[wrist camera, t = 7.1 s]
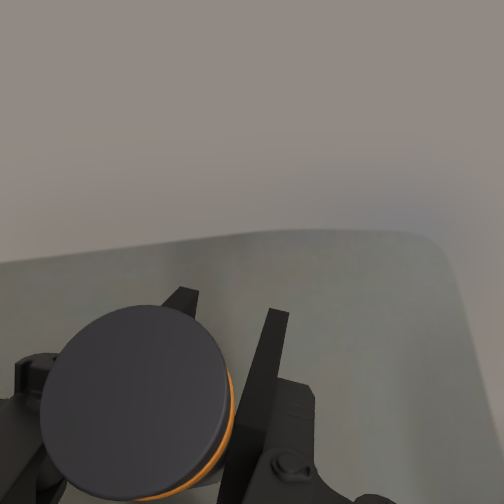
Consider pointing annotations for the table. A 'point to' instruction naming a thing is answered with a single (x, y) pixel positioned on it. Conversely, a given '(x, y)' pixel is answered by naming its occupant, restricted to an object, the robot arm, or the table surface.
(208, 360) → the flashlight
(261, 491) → the robot arm
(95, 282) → the table surface
